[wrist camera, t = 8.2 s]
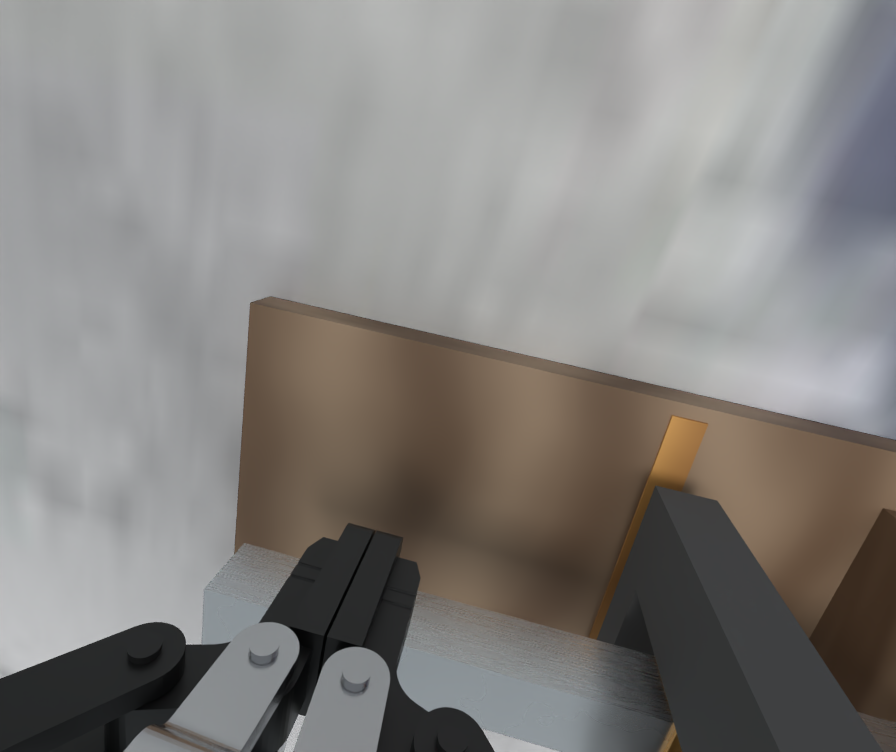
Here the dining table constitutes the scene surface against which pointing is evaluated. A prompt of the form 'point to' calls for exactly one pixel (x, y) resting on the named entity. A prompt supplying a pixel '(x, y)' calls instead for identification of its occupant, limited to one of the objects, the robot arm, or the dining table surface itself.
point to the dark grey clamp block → (725, 639)
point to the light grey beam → (495, 667)
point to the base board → (555, 479)
